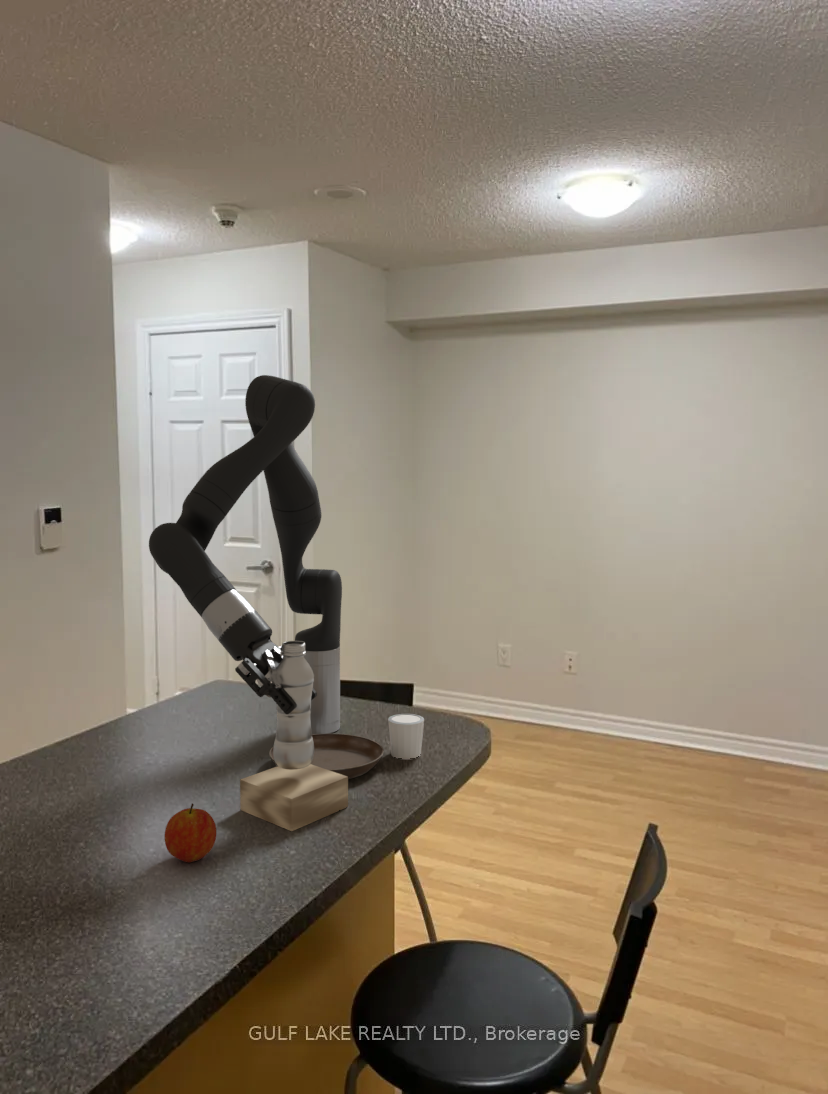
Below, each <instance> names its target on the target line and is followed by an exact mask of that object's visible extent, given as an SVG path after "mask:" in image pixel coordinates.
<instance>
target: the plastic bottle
mask: <svg viewBox="0 0 828 1094" xmlns="http://www.w3.org/2000/svg"><path fill="white" fill-rule="evenodd" d="M281 646H282V652H281V655H282V656H283V659H282V661H281V662H280V663H279V665H278V666H277V672H278V673H277V679H278V681H279V683H280V685H281V687H280V688H282V687H283V688H284V689H285V691H286V692H287V693H288V694H289V695H290V697H291V698H292V699H293V700H294V701H295V703H296V704H297V707H296V708H295V709H294V710H293V711H292V712H291V713H289V714H285V713H284V712H283V710H281V708H280V707H279V706H278V705H277V703H276V702H275V703H276V729H275V737H274V738H275V739H274V743H273V746H274V749H273V755H274V761H275V763H276V764H277V765H278V766H279V767H280V768H283V769H289V770H294V769H301V768H305V767H307V766H309V765H310V764H311V762H312V760H313V757H314V751H315V750H314V742H313V738H312V732H311V720H310V713H311V711H310V708H311V696H312V689H313V682H314V674H313V671H312V669H311V667H310V665H309V664H308V662H307V661H306V660H305V658H304V655H306V651H305V642H303V641H295V640H287V641H283V642H282V644H281ZM275 763H274V764H275Z"/></svg>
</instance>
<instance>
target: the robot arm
mask: <svg viewBox="0 0 828 1094" xmlns="http://www.w3.org/2000/svg"><path fill="white" fill-rule="evenodd" d="M244 400H245V402H244V403H245V412H246V417H247V420H248V423H249V426H250V429H251V432H252V435H253V437H252V438H251V439H250V440H248V441H247V442H245V444H243V445H242V446H240V447H238V448H237V449H235V450H233V451H232V452H231V453H229V454H228V455H226V456H224V457H222V458H221V459H219V460H217V461H216V462H215V463H213V465H211V466H210V467H209V468H208V469H207V470H206V471H205V472H204V473H203V474H202V476H201V477H200V478H199V479H198V480H197V482H196V484H195V485H194V487H193V488H192V489H191V490H190V491H189V493H188V494H187V495H186V497H185V499H184V501H183V503H182V508H181V509H182V510H181V514H180V516H179V518H178V519H177V520H176V522H165V523H162V524H159V525H158V526H157V527H155V528H154V529H153V531H151V533H150V536H149V540H148V549H149V550H148V551H149V552H150V555H151V557H152V558H153V560H154V562H155V563H156V565H157V566H158V568H159V569H160V570H161V571H162V572H164V573H166V574H168V576H169V577H170V578H171V579H172V580H173V581H174V582H175V584H177V586H178V587H179V588H180V589H181V592H182V593H183V595H184V597H185V599H186V600H187V602H188V603H189V604H190V605H191V607H192V608H193V609H194V610H195V611H196V612H197V614H198V615H199V617H201V619H202V620H203V622H204V623H205V624H206V627H207V628H208V629H209V631H210V632H211V633H212V635H213V636H214V637H215V639H216V640H217V641H218V642H219V643H220V644H221V646H222V647H223V648H224V649H225V650H226V651H227V654H229V655H230V657H231V659H233V660H234V661H235V662H240V663H239V664H238V665H237V666H236V667H235V672H236V673H237V675H239V677H240V678H241V679H242V680H243V681H244V682H245V683H246V684H247V685H248V687H250V689H252V691H253V692H254V693H255V694H256V695H257V696H258V697H259V698H262V697H265V696H266V697H268V698H271V699H273V701H274V702H275V703H277V705H278V706H279V707H280V708H281V710H283V712H284V713H285V714H289V713H291V712H292V711H293V710H294V709H295V708H296V707H297V704H296V703H295V701H294V700H293V699H292V698H291V697H290V695H289V694H288V693H287V692H286V691H285V689H284V688H283V687H282V688H280V687H281V685H280V683H279V681H278V679H277V673H278V672H277V666H278V665H279V663H280V662H281V661H282V659H283V656H282V655H281V652H282V645H280V646H278V645H277V644H276V643H274V642H273V641H272V640H271V637H272V635H273V630H272V627H270V625H269V624H268V623H267V622H266V621H265V620H264V618H263V617H262V616H261V615H260V614H259V613H258V611H257V610H256V609H255V608H254V607H253V605H252V603H250V601H249V600H248V599H247V598H246V597H245V596H243V595H242V594H241V592H239V590H237V589H236V587H235V586H234V585H233V584H232V583H231V582H230V580H229V579H228V578H227V577H226V576H225V575H224V574H223V572H221V571H220V570H219V568H218V567H217V566H216V565H215V564H214V563H213V561H212V560H211V559H210V556H209V555H208V554H207V552H206V550H207V548H208V546H209V544H210V542H211V540H212V539H213V537H214V534H215V533H216V531H217V528H218V526H219V525H220V524H221V523H222V522H223V520H225V518H226V517H227V515H229V513H230V512H231V510H232V508H233V507H234V506H235V504H237V502H238V500H239V499H240V497H241V496H242V495H243V494H244V493H245V491H247V490H246V489H248V488H249V486H250V485H251V484H252V483H253V482H254V481H255V480H256V478H258V477H259V476H260V474H261V473H262V472H263V474H264V478H265V484H266V487H267V491H268V498H269V503H270V504H269V505H270V508H271V509H270V510H271V514H272V519H273V523H274V525H275V526H274V527H275V530H276V534H277V538H278V544H279V548H280V554H281V562H282V570H283V578H284V579H283V580H284V587H285V595H286V600H287V603H288V606H289V608H290V610H291V611H292V612H294V613H296V614H302V615H303V614H304V615H322V616H321V621H320V623H317V624H315V626H312V627H309V628H306V629H303V630H300V631H298V632H297V633H296V634H295V636H294V641H303V642H305V651H306V655H304V658H305V660H306V661H307V662H308V664H309V665H310V667H311V669H312V671H313V674H314V682H313V689H312V696H311V708H310V711H311V713H310V720H311V732H312V734H333V733H335V732H337V731H339V729H340V727H341V625H342V624H341V618H342V617H341V616H342V596H343V594H342V593H343V585H342V577H341V575H340V573H339V572H338V571H337V570H335V569H322V568H321V569H319V568H317V569H316V568H315V569H314V568H305V566H304V565H303V556H304V554H305V552H306V550H307V548H308V545H310V542H311V541H312V540H313V538H314V536H315V535H316V532H317V531H318V528H319V526H320V524H321V521H322V508H321V503H320V497H319V492H318V487H317V484H316V481H315V480H314V478H313V476H312V474H311V473H310V472H311V471H310V470H309V469H308V467H307V466H306V464H305V463H304V461H303V460H302V458H301V457H300V456H299V455H298V452H297V450H296V449H295V447H294V445H293V442H294V441H295V440H296V439H297V438H298V437H299V436H300V435H301V434H302V433H303V432H304V430H305V429H306V428H308V426H309V424H310V423H311V421H312V419H313V418H314V417H313V416H314V414H315V409H316V402H315V401H316V400H315V397H314V393H313V392H312V390H311V389H310V388H309V387H308V386H306V385H304V384H302V383H299V382H296V381H293V380H291V379H290V380H289V379H286V378H282V377H278V376H274V375H270V374H269V375H268V374H266V375H265V374H262V375H259V376H256V377H255V378H254V379H252V381H251V382H250V383H249V384H248V387H247V389H246V394H245V399H244Z"/></svg>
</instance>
